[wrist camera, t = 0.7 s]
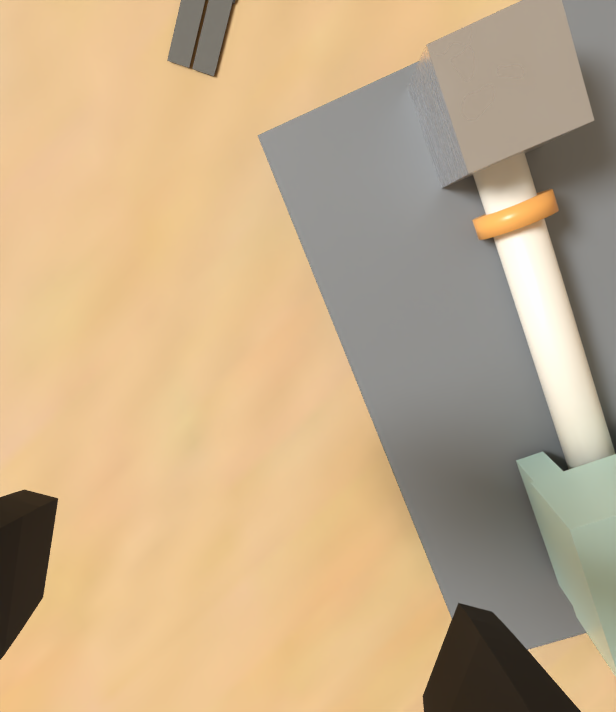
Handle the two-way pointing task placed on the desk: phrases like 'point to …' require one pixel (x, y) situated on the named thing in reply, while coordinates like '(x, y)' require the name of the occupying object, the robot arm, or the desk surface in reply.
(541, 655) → the desk surface
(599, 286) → the board
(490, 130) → the block
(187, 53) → the blue flat gadget
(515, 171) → the wooden dowel
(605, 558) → the sleeve
